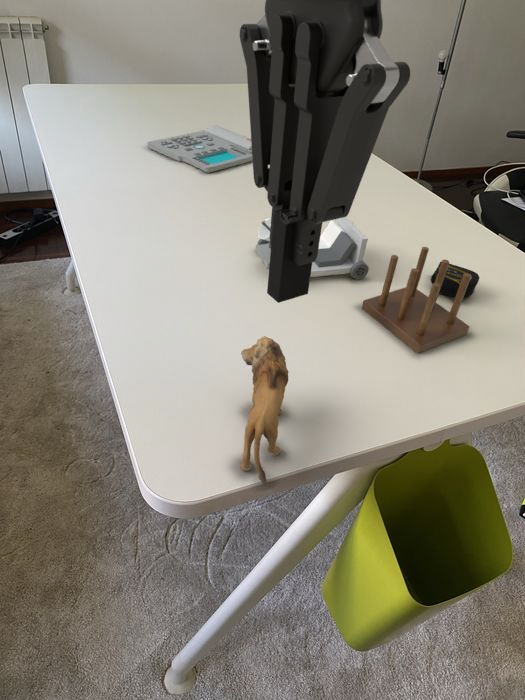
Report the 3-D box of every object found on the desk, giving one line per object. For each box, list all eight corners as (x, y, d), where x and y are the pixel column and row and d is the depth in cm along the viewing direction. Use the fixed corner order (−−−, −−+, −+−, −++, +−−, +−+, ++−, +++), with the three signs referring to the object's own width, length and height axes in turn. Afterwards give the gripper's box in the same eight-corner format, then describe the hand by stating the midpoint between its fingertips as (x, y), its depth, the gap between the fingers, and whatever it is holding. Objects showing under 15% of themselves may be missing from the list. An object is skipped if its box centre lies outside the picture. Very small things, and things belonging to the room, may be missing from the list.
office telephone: (220, 121, 141) (277, 143, 131) (219, 131, 142) (276, 154, 132) (146, 136, 126) (204, 162, 116) (146, 147, 128) (204, 174, 118)
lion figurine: (237, 388, 67) (242, 329, 61) (280, 389, 68) (289, 330, 62) (239, 487, 56) (245, 425, 50) (291, 487, 56) (302, 427, 51)
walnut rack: (466, 334, 80) (489, 278, 74) (417, 353, 76) (436, 295, 70) (409, 293, 88) (425, 239, 82) (361, 308, 83) (374, 252, 77)
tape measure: (475, 290, 90) (483, 270, 88) (465, 309, 85) (473, 288, 83) (435, 276, 93) (441, 256, 90) (423, 294, 88) (429, 273, 85)
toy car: (268, 232, 79) (245, 198, 87) (262, 290, 85) (241, 253, 93) (380, 224, 84) (347, 192, 92) (366, 279, 90) (337, 245, 98)
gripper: (202, -129, 29) (201, 265, 43) (366, -132, 21) (297, 356, 35) (315, -115, 32) (279, 246, 47) (494, -112, 24) (383, 325, 39)
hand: (287, 293), depth 41 cm, fingers closed
